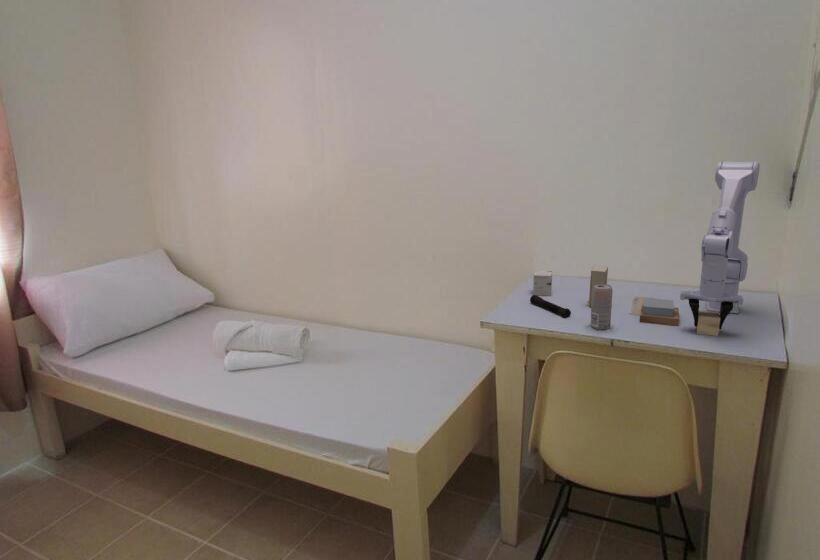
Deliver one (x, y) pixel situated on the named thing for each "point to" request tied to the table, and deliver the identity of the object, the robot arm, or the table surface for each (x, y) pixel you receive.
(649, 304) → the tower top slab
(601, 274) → the skincare box
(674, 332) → the table surface
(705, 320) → the beech cube
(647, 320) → the tower base slab
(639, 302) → the grooming comb
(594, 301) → the energy drink
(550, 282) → the skincare box
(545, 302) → the flashlight
